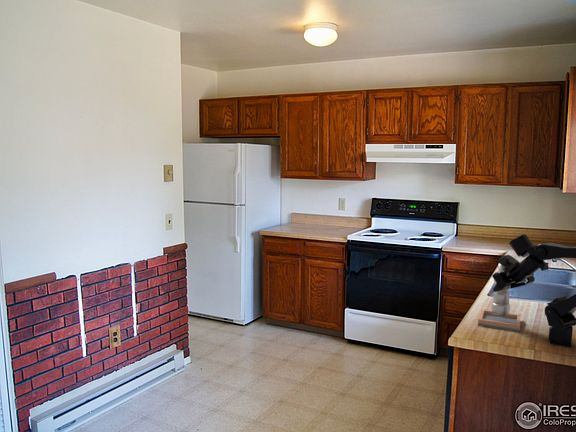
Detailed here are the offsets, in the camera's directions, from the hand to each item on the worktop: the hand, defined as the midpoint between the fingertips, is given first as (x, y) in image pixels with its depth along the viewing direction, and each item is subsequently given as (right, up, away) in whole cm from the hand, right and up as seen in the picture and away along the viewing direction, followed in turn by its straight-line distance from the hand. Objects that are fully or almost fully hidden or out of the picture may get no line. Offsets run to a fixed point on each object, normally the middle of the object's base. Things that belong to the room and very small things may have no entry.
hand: (498, 290), depth 190 cm
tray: (0, -13, 0) cm, 13 cm away
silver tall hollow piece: (0, -10, 0) cm, 10 cm away
